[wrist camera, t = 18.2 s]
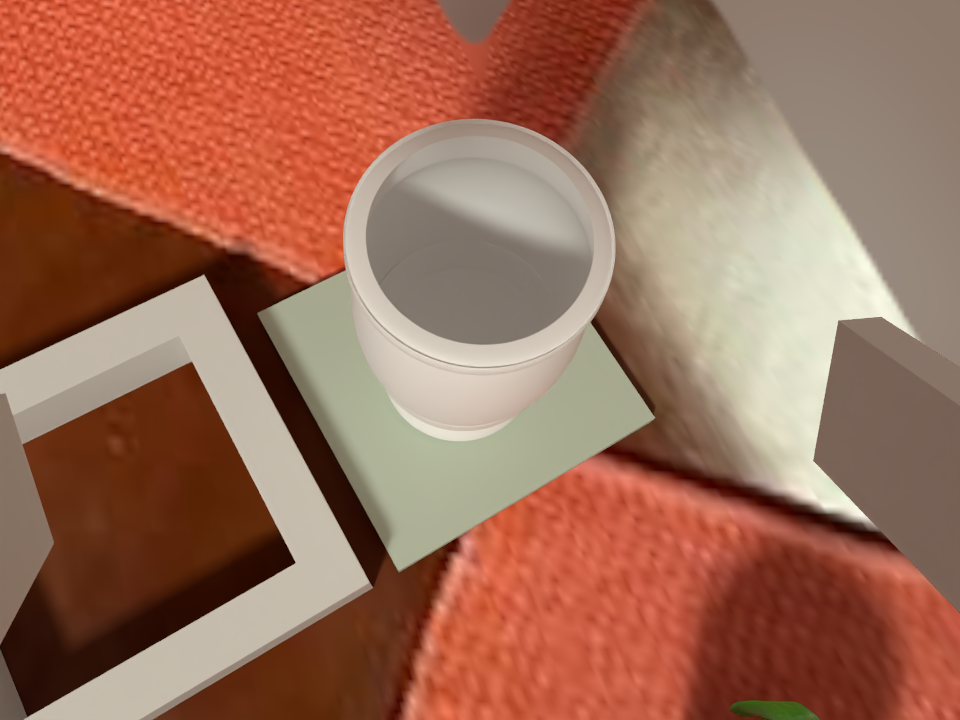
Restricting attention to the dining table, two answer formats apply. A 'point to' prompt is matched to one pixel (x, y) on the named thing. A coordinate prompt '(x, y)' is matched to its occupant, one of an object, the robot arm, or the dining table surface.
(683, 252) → the dining table surface
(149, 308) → the white square frame
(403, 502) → the pad
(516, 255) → the jar
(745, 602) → the dining table surface
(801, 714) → the snack cup
